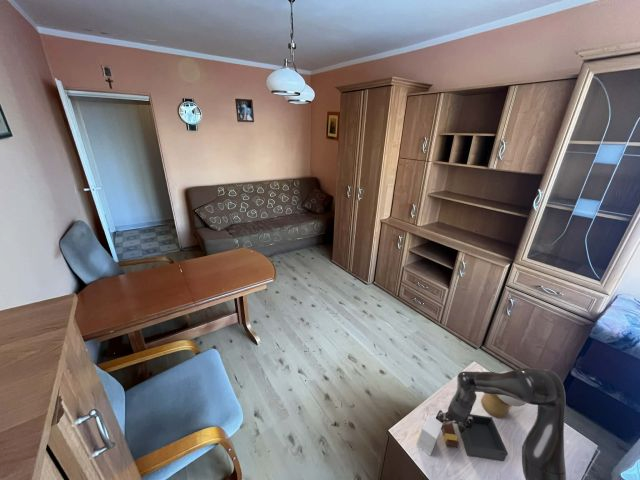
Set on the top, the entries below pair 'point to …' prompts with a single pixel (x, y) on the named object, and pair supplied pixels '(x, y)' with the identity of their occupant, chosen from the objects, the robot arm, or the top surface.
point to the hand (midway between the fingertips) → (450, 429)
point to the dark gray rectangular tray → (483, 439)
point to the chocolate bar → (450, 435)
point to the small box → (429, 434)
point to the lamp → (499, 404)
